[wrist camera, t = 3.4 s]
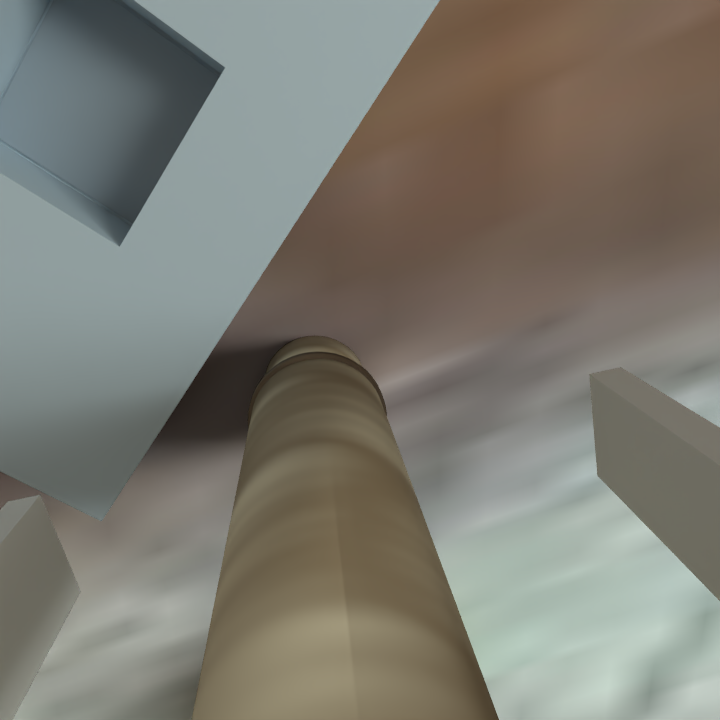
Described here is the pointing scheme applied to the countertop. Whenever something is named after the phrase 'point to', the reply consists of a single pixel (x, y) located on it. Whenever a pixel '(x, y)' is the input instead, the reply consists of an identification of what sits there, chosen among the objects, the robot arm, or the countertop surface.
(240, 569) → the beech peg
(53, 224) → the slate board
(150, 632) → the countertop surface
